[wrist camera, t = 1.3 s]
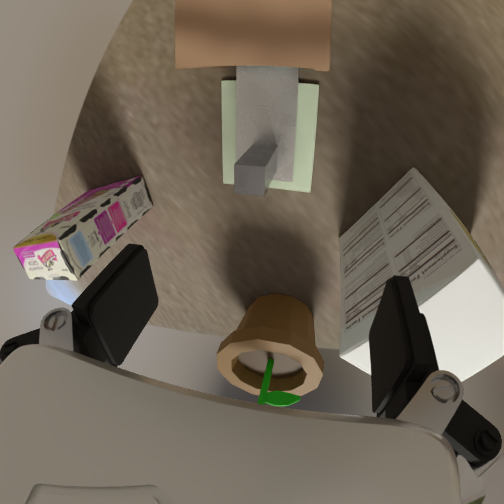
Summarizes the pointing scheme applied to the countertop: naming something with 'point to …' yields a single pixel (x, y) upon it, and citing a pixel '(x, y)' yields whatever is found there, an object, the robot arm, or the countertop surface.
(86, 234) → the candy bar box
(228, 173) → the board
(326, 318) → the countertop surface
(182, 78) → the countertop surface
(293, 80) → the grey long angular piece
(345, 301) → the supplement box
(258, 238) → the countertop surface
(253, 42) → the tunnel
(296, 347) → the flowerpot
